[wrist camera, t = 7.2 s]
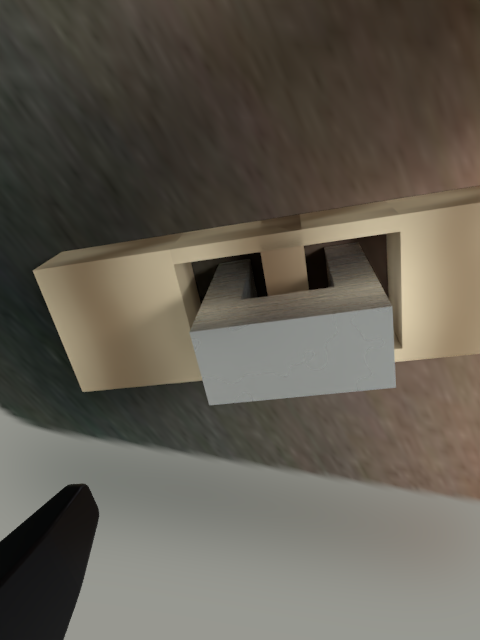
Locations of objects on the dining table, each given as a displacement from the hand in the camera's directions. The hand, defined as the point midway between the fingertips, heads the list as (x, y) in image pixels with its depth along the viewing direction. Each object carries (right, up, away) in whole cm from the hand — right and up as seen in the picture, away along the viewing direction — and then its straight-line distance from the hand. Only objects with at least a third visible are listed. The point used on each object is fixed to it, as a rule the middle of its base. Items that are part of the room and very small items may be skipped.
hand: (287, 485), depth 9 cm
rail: (+1, +5, +10) cm, 11 cm away
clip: (+1, +5, +10) cm, 11 cm away
